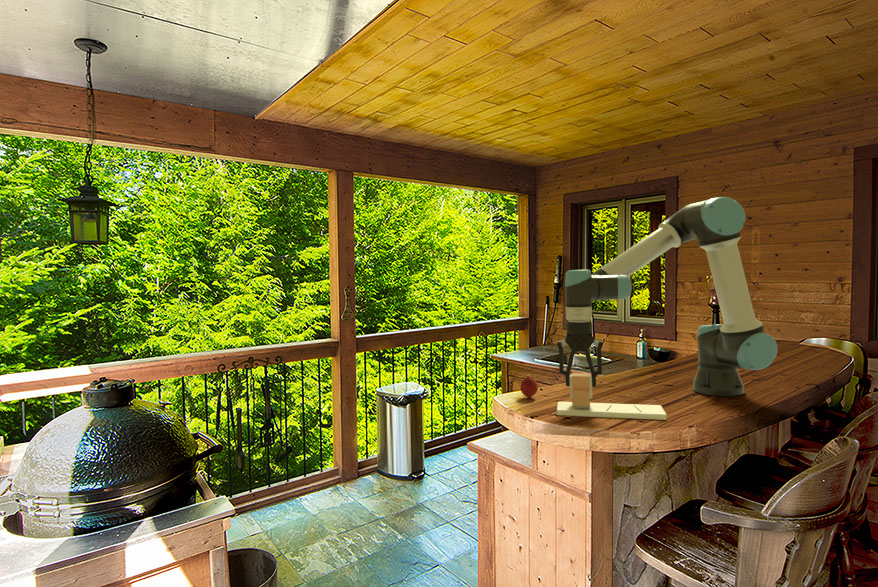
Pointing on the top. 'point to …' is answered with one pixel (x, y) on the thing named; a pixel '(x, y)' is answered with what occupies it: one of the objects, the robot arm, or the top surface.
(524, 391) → the onion
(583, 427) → the top surface
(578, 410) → the board
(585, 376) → the block
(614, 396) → the top surface
